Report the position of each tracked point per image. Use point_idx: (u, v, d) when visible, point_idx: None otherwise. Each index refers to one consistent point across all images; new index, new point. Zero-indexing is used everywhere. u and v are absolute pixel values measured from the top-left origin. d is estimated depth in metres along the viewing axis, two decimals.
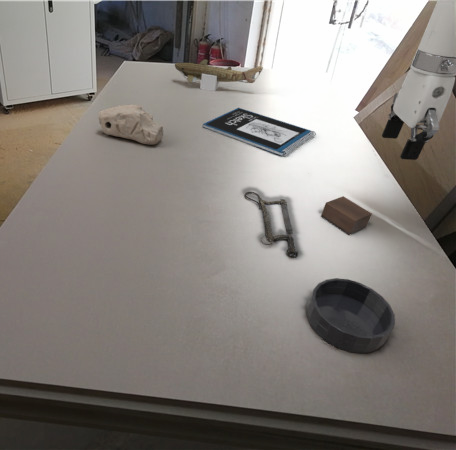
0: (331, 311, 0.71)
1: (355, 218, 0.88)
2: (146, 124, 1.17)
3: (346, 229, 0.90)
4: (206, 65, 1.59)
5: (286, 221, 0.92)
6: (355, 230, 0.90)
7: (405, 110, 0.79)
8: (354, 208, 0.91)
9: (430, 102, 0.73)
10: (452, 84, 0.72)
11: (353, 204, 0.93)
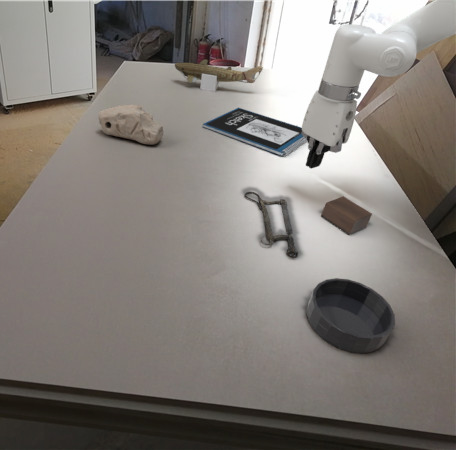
0: (331, 311, 0.71)
1: (355, 218, 0.88)
2: (146, 124, 1.17)
3: (346, 229, 0.90)
4: (206, 65, 1.59)
5: (286, 221, 0.92)
6: (355, 230, 0.90)
7: (320, 132, 0.89)
8: (354, 208, 0.91)
9: (344, 124, 0.85)
10: None
11: (353, 204, 0.93)
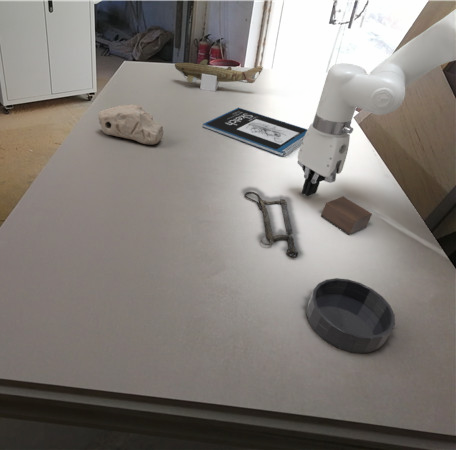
0: (331, 311, 0.71)
1: (355, 218, 0.88)
2: (146, 123, 1.18)
3: (346, 229, 0.90)
4: (206, 65, 1.59)
5: (286, 221, 0.92)
6: (355, 230, 0.90)
7: (315, 163, 0.93)
8: (354, 208, 0.91)
9: (338, 157, 0.89)
10: None
11: (353, 204, 0.93)
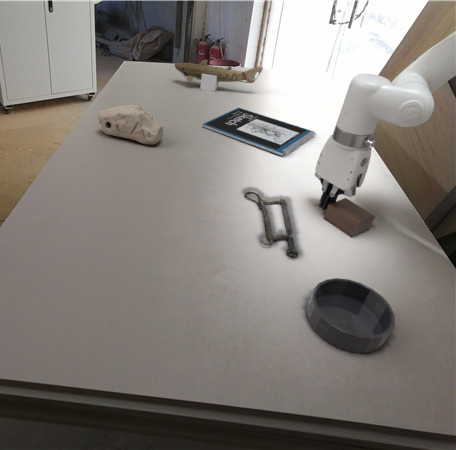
0: (331, 311, 0.71)
1: (358, 220, 0.88)
2: (146, 123, 1.18)
3: (349, 231, 0.89)
4: (206, 65, 1.59)
5: (286, 221, 0.92)
6: (358, 232, 0.90)
7: (335, 176, 0.90)
8: (357, 210, 0.91)
9: (359, 170, 0.86)
10: None
11: (356, 206, 0.92)
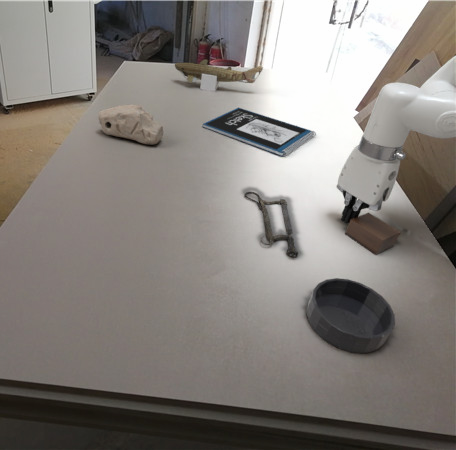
0: (331, 311, 0.71)
1: (383, 237, 0.83)
2: (146, 123, 1.18)
3: (373, 248, 0.85)
4: (206, 65, 1.59)
5: (286, 221, 0.92)
6: (382, 249, 0.85)
7: (359, 189, 0.85)
8: (381, 226, 0.86)
9: (386, 184, 0.81)
10: None
11: (380, 221, 0.88)
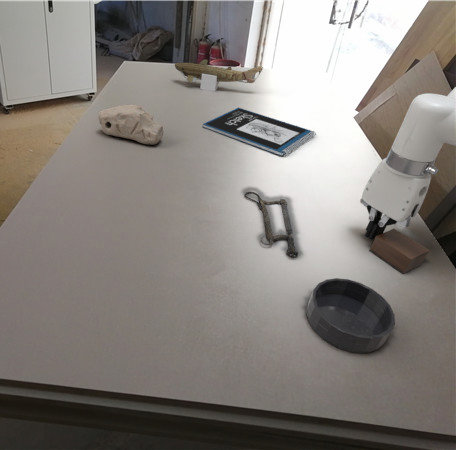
0: (331, 311, 0.71)
1: (411, 255, 0.79)
2: (146, 123, 1.18)
3: (400, 267, 0.81)
4: (206, 65, 1.59)
5: (286, 221, 0.92)
6: (410, 268, 0.81)
7: (386, 205, 0.80)
8: (408, 243, 0.82)
9: (417, 200, 0.77)
10: None
11: (406, 238, 0.83)
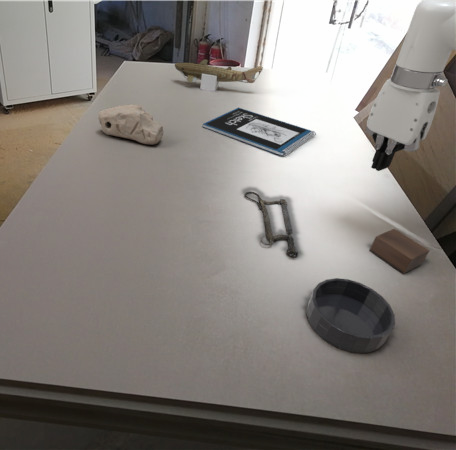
0: (331, 311, 0.71)
1: (411, 255, 0.79)
2: (146, 123, 1.18)
3: (400, 267, 0.81)
4: (206, 65, 1.59)
5: (286, 221, 0.92)
6: (410, 268, 0.81)
7: (393, 128, 0.76)
8: (408, 243, 0.82)
9: (425, 118, 0.72)
10: None
11: (407, 238, 0.83)
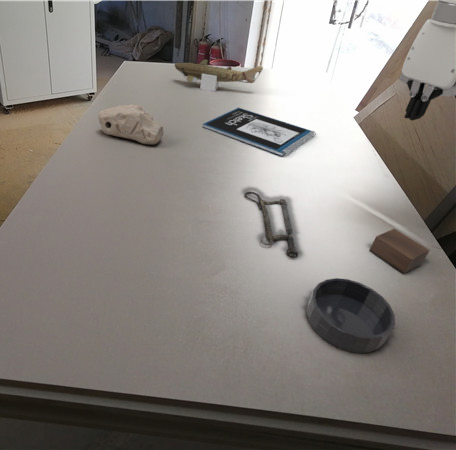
0: (331, 311, 0.71)
1: (411, 255, 0.79)
2: (146, 123, 1.18)
3: (400, 267, 0.81)
4: (206, 65, 1.59)
5: (286, 221, 0.92)
6: (410, 268, 0.81)
7: (432, 71, 0.72)
8: (408, 243, 0.82)
9: None
10: None
11: (407, 238, 0.83)
